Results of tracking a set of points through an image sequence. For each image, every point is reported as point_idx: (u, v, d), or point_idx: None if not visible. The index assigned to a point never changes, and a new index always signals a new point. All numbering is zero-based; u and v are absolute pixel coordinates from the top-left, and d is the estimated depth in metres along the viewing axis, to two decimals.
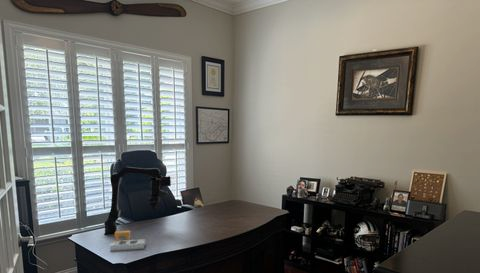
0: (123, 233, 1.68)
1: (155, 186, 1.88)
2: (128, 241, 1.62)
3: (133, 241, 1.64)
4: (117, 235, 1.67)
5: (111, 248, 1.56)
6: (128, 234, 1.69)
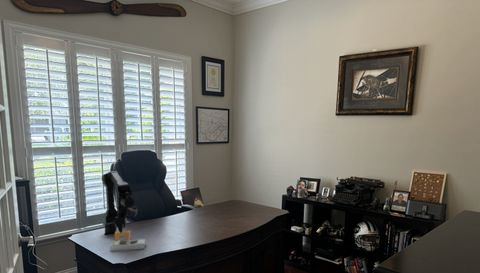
0: (123, 233, 1.68)
1: (118, 204, 1.67)
2: (128, 241, 1.62)
3: (133, 241, 1.64)
4: (117, 235, 1.67)
5: (111, 248, 1.56)
6: (128, 234, 1.69)
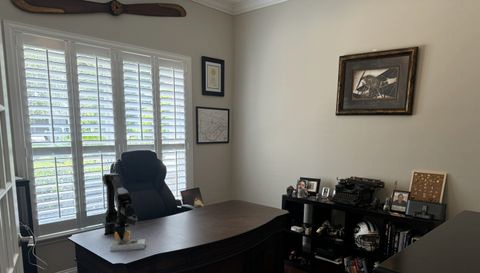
0: None
1: (118, 213, 1.67)
2: (128, 241, 1.62)
3: (133, 241, 1.64)
4: (117, 235, 1.67)
5: (111, 248, 1.56)
6: (128, 234, 1.69)
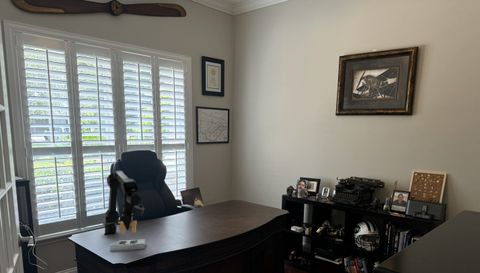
0: None
1: (124, 202, 1.59)
2: (128, 241, 1.62)
3: (133, 241, 1.64)
4: (123, 225, 1.59)
5: (111, 248, 1.56)
6: (134, 224, 1.61)
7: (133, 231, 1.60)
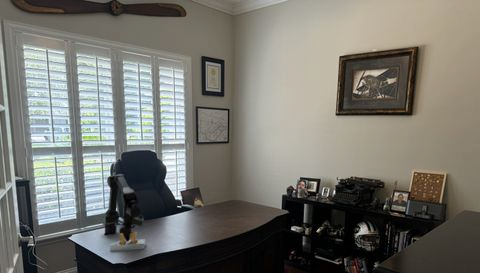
0: None
1: (123, 213, 1.59)
2: (128, 241, 1.62)
3: None
4: (123, 236, 1.59)
5: (111, 248, 1.56)
6: (134, 235, 1.61)
7: (133, 242, 1.60)
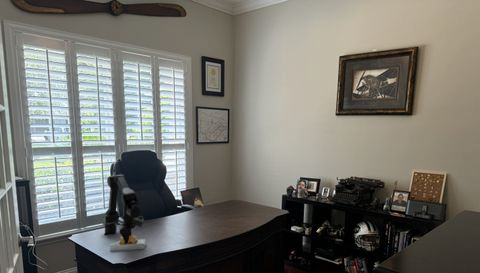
0: (129, 238, 1.60)
1: (123, 214, 1.59)
2: None
3: None
4: (123, 240, 1.59)
5: (111, 248, 1.56)
6: (134, 239, 1.61)
7: None
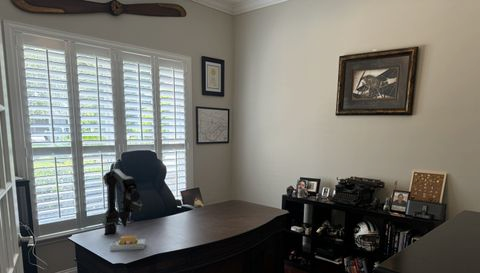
0: (129, 238, 1.60)
1: (123, 198, 1.66)
2: None
3: None
4: (123, 240, 1.59)
5: (111, 248, 1.56)
6: (134, 239, 1.61)
7: None
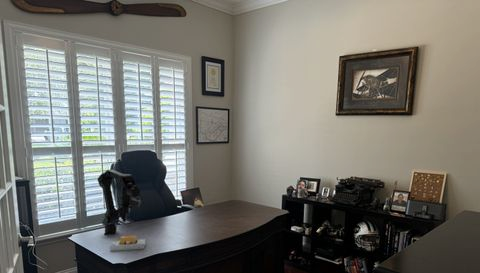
0: (129, 238, 1.60)
1: (122, 194, 1.72)
2: None
3: None
4: (123, 240, 1.59)
5: (111, 248, 1.56)
6: (134, 239, 1.61)
7: None
